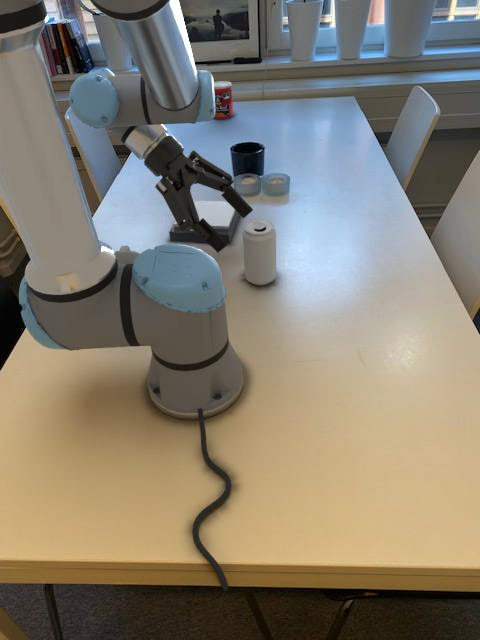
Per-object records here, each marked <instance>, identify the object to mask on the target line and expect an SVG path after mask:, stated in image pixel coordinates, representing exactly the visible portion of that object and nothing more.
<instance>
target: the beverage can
mask: <svg viewBox="0 0 480 640" xmlns="http://www.w3.org/2000/svg"><path fill="white" fill-rule="evenodd" d="M243 228H244V229H243V231H242V248H243V249H242V250H243V264H244V265H243V267H244V278H245V280H246V281H247V282H249V283H251V284H253V285H255V286H266V285H268V284H270V283H271V282H273V281H274V280H275V279H276V277H277V230H276V229H275V225H274V223H273V222H272V221H270V220H267V219H262V218H261V219H260V218H258V219H253V220H249V221H247V222H246V223H245V224H244V226H243Z"/></svg>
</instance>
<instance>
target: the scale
mask: <svg viewBox="0 0 480 640" xmlns="http://www.w3.org/2000/svg"><path fill="white" fill-rule="evenodd" d="M193 201H194V204H195V207H196V210H197V214H198V217H199V220H201V219H202V218H204V219H205V220H206V221H207V222H208V224H209V225H210V226H211V227H212V228H213V229H214V230H215V231H216V232H217V233H218V234H219V235H220V236H221V237H222V238H223V239H224V240H225V241H226V242H227V243H228V245H230V243H231V242H232V241H231V240H232V238H233V235H234V233H235V230H236V227H237V224H238V221H239V220H240V217H241V215H240V214H239V213H238V212H237V211H236V210H235V209H234V208H233V207H232V206H231V205H230V204H229V203H228V202H227V201H218V200H217V201H216V200H215V201H213V200H210V201H209V200H193ZM184 222H185V220H184ZM168 233H169V239H170V242H182V243H183V242H184V243H185V242H186V243H204V244H205V243H206V244H209V243H208V242H207V241H206V240H203V239H202V238H201V237H200V236H199V235H198V234H197V233H196V232H195V231H194V230H193V229H191V230H190V231H186V230H185V231H182V230H181V229H180V228H179V226H178V224H177V222H176V220H175V219H174V222H173V225H172V226H171V228H170V229H169V231H168Z"/></svg>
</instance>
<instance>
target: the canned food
mask: <svg viewBox="0 0 480 640" xmlns="http://www.w3.org/2000/svg"><path fill="white" fill-rule="evenodd" d="M214 92H215V116H214V118H213V119H215V120H216V119H217V120H225V119H226V120H227V119H230V118H232V117H233V115H234V105H233V104H234V103H233V102H234V101H233V85H232V82H230V81H229V80H218V81H214Z"/></svg>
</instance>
